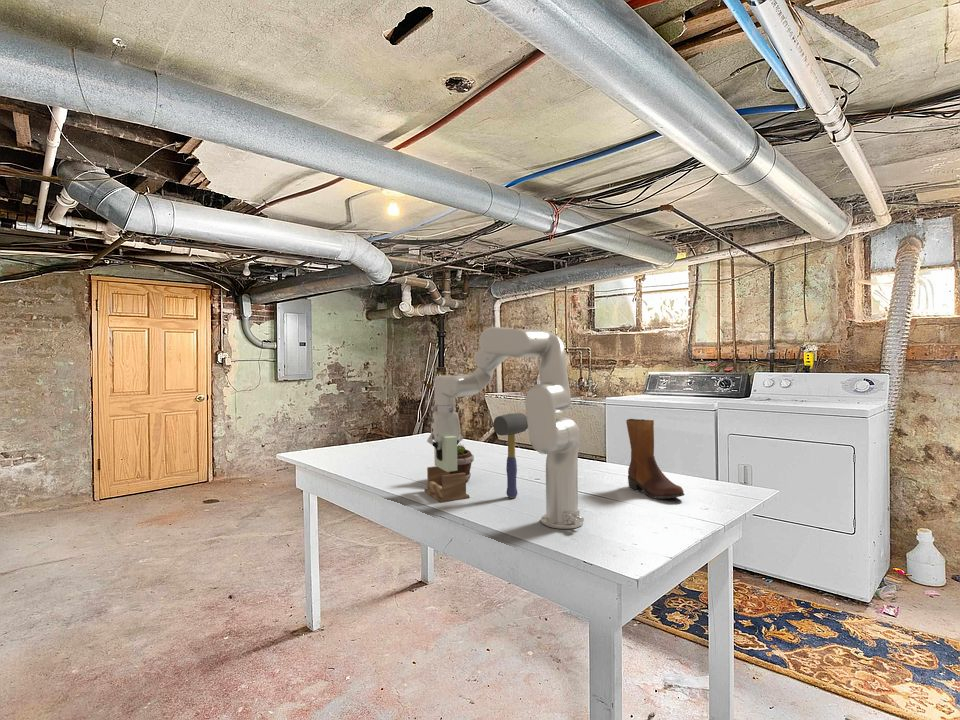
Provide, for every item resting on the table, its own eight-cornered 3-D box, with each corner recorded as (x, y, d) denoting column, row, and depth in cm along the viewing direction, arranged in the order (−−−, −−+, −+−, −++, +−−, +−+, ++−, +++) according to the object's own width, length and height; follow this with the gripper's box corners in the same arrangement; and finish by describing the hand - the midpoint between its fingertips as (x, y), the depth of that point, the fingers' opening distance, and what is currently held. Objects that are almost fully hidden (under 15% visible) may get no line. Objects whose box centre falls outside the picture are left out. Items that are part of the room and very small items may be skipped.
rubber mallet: (508, 503, 172) (506, 416, 172) (492, 499, 178) (491, 414, 177) (531, 496, 181) (530, 412, 181) (515, 492, 187) (514, 411, 186)
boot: (689, 502, 171) (688, 423, 171) (666, 505, 169) (666, 424, 168) (644, 484, 195) (643, 415, 195) (623, 486, 193) (623, 416, 192)
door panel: (457, 470, 180) (457, 437, 180) (445, 472, 178) (445, 438, 178) (444, 464, 191) (444, 432, 190) (433, 465, 189) (432, 433, 188)
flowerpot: (475, 476, 211) (475, 429, 210) (472, 486, 195) (471, 435, 195) (441, 476, 212) (440, 429, 212) (434, 486, 197) (434, 435, 196)
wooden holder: (469, 498, 180) (469, 472, 180) (440, 502, 175) (440, 476, 175) (451, 487, 194) (451, 464, 194) (424, 491, 189) (424, 467, 189)
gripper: (427, 411, 177) (427, 463, 177) (470, 408, 184) (470, 458, 185) (419, 409, 184) (420, 459, 184) (461, 407, 191) (462, 455, 191)
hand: (445, 458), depth 184 cm, fingers closed on door panel, 4 cm apart
